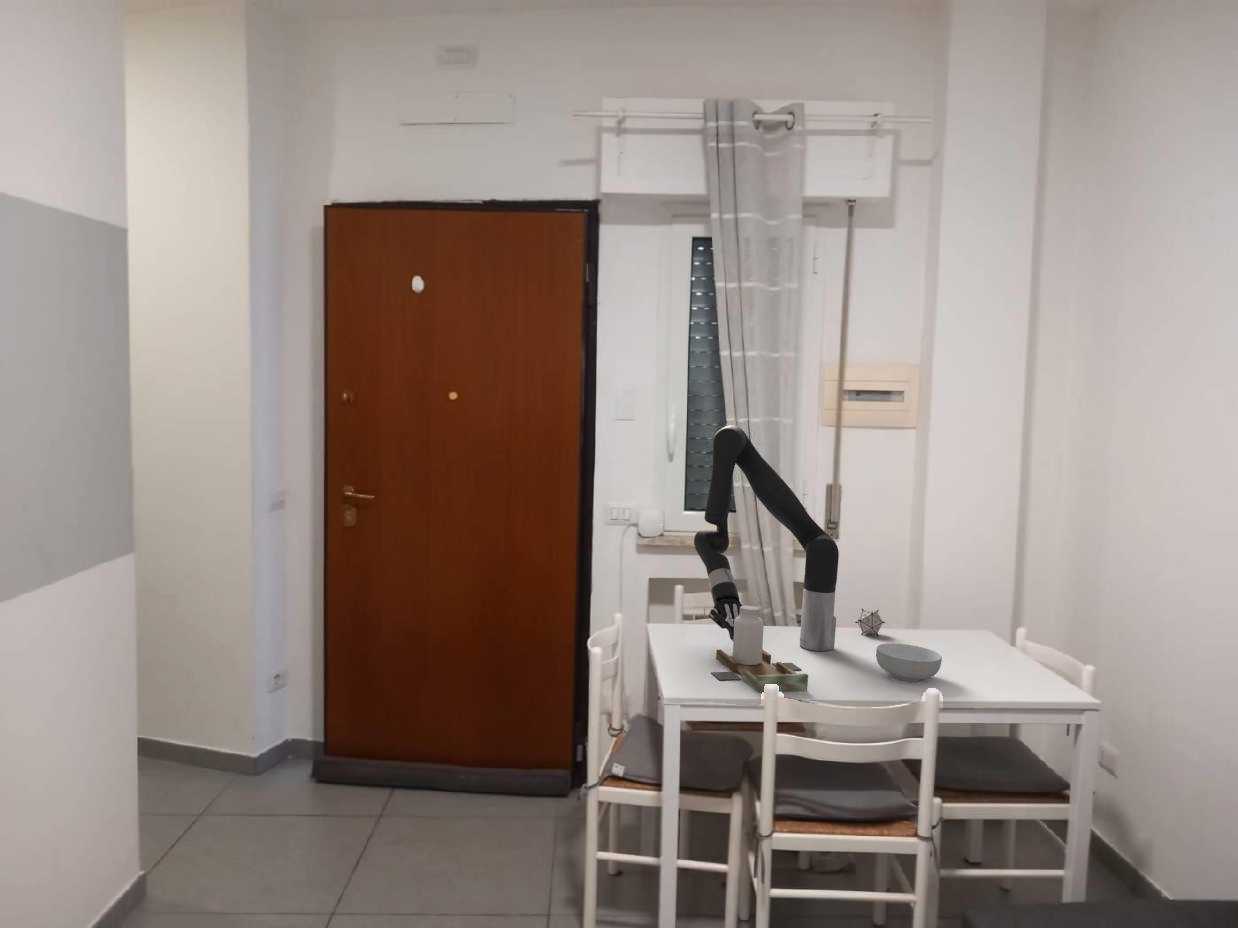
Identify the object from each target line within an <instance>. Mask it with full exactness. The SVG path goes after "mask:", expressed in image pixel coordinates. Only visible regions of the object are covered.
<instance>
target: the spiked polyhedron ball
mask: <svg viewBox="0 0 1238 928" xmlns="http://www.w3.org/2000/svg"><path fill="white" fill-rule="evenodd" d="M878 612H879V609H877V610H876V611H875V610H872V611H871V610H864V608H861V614H860V616H859V617H858V619H857V621H854V623H855V624H857V625H858V626H859V628H860V631H861V634H860V635H861V636H863V635H864V634H867V635H868V634H869V635H870V634H871V635H876V636H877V637H879V634H878V633H879V631H880V629H881V627H882V625H883V624H885V623H886V621H883V620H882V617H881V616H880V615H879V613H878Z"/></svg>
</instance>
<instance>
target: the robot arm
mask: <svg viewBox="0 0 1238 928" xmlns="http://www.w3.org/2000/svg"><path fill="white" fill-rule="evenodd" d="M712 440H713V441H712V442H713V443H712V444H713V445H712V471H711V472H712V473H711V480H710V485H709V490H708V495H707V501H706V506H705V509H704V510H705V512H704V521H705V522H706V523H708V524H711V525H713V526H716V530H708V529H701V530H698V531H697V532H696V533H695V535H694V538H693V545H694V548H695V550H696V553H697V554H698V556H699V558H700V559H701V561H702V563H703V564H704V566H705V569H706V573H707V576H708V577H707V578H708V584H709V590H710V593H711V598H712V602H713V609H710V610H709V613H708V617H709V618H710V619H711V620H712V621H713V623H715V624H716V625H717V626H718V627H720V628H721V629H726V630H727V631H728V635H729V636H728V637H729V639H730V640H732V641H731V642H733V639H734V621H735V619H736V617H738V616H740V607H741V606H743V604H742V603H741V601H740V597H739V593H738V588H737V585H736V582H735V578H734V575H733V573H732V569H731V565H730V563H729V558H728V557H727V556H726V555H724V554H725V552H726V551H727V550H728V549H729V546H730V538H729V537H730V536H729V526H728V522H729V521H728V519H729V518H728V517H729V513H730V507H731V501H732V487H733V486H732V485H733V476H734V472H735V471H734V470H735V466H736V465H737V466H738V468H739V469H740V470H741V472H742V473H743V475H744V476H745V478H746V479H747V482H748V484H749V485H750V487H751V489H752V491H753V493H754V494H755V497H757V499H758V500H759V501H760V503H761V504H762V506H764V507H765V509H766V510H767V511H768V512H769V513H770V514H771V515H772V517H774V518H775V519H776V520H777V521H778V522H779V523H780V524H782V525H783V526H784V527H785V528H786V529H788V531H789V532H791V534H792V535H793V536H794V538H795V539H796V540H797V541H798V543H799V544H800V546H801V547H802V549H803V551H804V552H805V563H804V564H805V565H804V578H803V589H802V590H803V591H802V605H801V620H800V621H801V622H800V636H799V646H800V647H801V648H803V649H806V650H810V651H816V652H820V651H821V652H824V651H825V652H826V651H830V650H835V643H836V641H835V640H836V629H837V628H836V627H837V617H836V616H835V615H834V614H835V602H836V601H835V600H836V588H837V582H838V570H839V556H840V551H839V548H838V545H837V543H836V541H835V540H834V539H833V538H832V537H831V536H830V535H829V534H828V533H827V532H825V531H824V529H822V528H821V526H819V525H818V523H817V522H815V520H814V519H813V518H812V517H811V515H810V514H809V513H808V511H807V510H806V508H805V507H804V505H803V503H802V502H801V500H800V499H799V498H798V497H797V495H796V494H795V492H794V491H793V490H792V489H791V488H790V487H789V485H788V484H787V483H786V482H785V481H784V480H783V478H782V477H781V476H780V475H779V473H778V472H776V471H775V469H774V468H773V467H772V466H771V465H770V464H769V463H768V462H767V461H766V460H765V458H763V457H762V455H761V454H760V453H759V451H758V450H757V448H755V446H754V444H753V443H752V442H751V440H750V438H749V437H748V435H747V433H746V432H745V431H744V430H743V429H742V428H740V427H739V426H737V425H732V424H731V425H730V424H729V425H726V426H724V427H722V428H720V429H719V430H718V431H717V432H716V433H715V435H714V436H713V439H712Z"/></svg>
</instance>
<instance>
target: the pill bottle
mask: <svg viewBox="0 0 1238 928" xmlns="http://www.w3.org/2000/svg"><path fill="white" fill-rule="evenodd" d="M759 616H760V608H759V606H755V605H742V606H741V607H740V614H739V616H738V617H736V619H735V621H734V639H733V641H732V656H733V660H735V661H736V662H737V663H738V664H742V665H758V664H760V663H761V662H762V649H763V646H764V645H763V644H764V628H765V627H764V626H765V624H764V620H763V619H762V617H759Z"/></svg>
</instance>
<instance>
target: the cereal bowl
mask: <svg viewBox="0 0 1238 928" xmlns="http://www.w3.org/2000/svg"><path fill="white" fill-rule="evenodd" d="M875 657H876V658H875V659H876V662H877V663H878V665H879V667H880V668H881V669H882V670H884V671H885V672H886V673H888V674H889V675H891V677H892V678H894V679H897V680H900V681H904V682H912V683H913V682H920V681H923V680H926V679H930V678H932V677H934V676H935V675H937V674H938V672H940V670H941V667H942V666H941V665H942V659H943V658H942V655H941V654H940V653H939V652H936V651H934V650H933V649H930V648H926V647H923V646H918V645H914V644H913V645H912V644H907V643H898V642H897V643H895V642H893V643H892V642H889V643H881V644H879V645H877V646H876V652H875Z"/></svg>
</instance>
